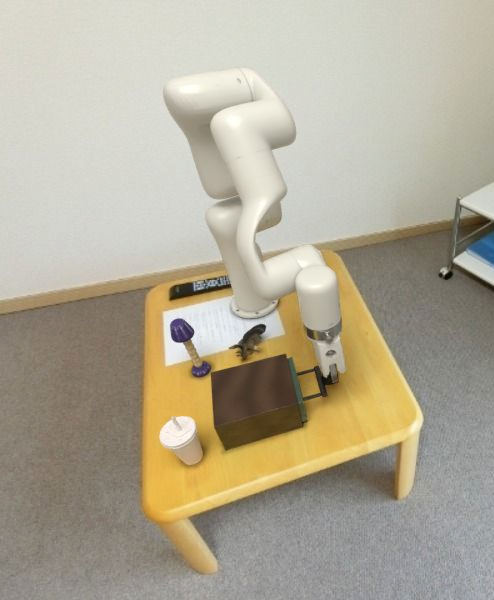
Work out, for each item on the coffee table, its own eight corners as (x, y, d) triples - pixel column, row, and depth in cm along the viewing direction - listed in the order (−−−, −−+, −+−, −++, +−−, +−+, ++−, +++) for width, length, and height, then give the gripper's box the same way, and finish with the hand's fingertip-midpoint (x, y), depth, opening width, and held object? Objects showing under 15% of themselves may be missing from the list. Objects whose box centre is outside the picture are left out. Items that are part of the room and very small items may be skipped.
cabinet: (291, 377, 100) (285, 353, 94) (303, 427, 91) (297, 403, 85) (221, 396, 96) (210, 372, 90) (225, 450, 86) (213, 427, 80)
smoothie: (205, 471, 83) (182, 433, 74) (171, 472, 83) (144, 434, 73) (213, 441, 88) (193, 401, 78) (181, 442, 88) (157, 403, 78)
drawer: (319, 369, 101) (316, 350, 96) (332, 413, 92) (329, 394, 88) (231, 393, 96) (223, 374, 91) (236, 441, 87) (228, 423, 82)
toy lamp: (209, 377, 100) (187, 328, 88) (188, 380, 99) (163, 331, 88) (212, 362, 103) (190, 312, 92) (191, 365, 102) (167, 315, 91)
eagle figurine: (264, 360, 102) (274, 329, 108) (241, 346, 98) (253, 314, 103) (243, 367, 106) (254, 336, 111) (220, 353, 101) (232, 322, 107)
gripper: (352, 345, 79) (357, 402, 91) (330, 295, 89) (337, 353, 102) (313, 356, 77) (323, 413, 89) (295, 304, 87) (306, 362, 99)
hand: (331, 381), depth 95 cm, fingers closed
